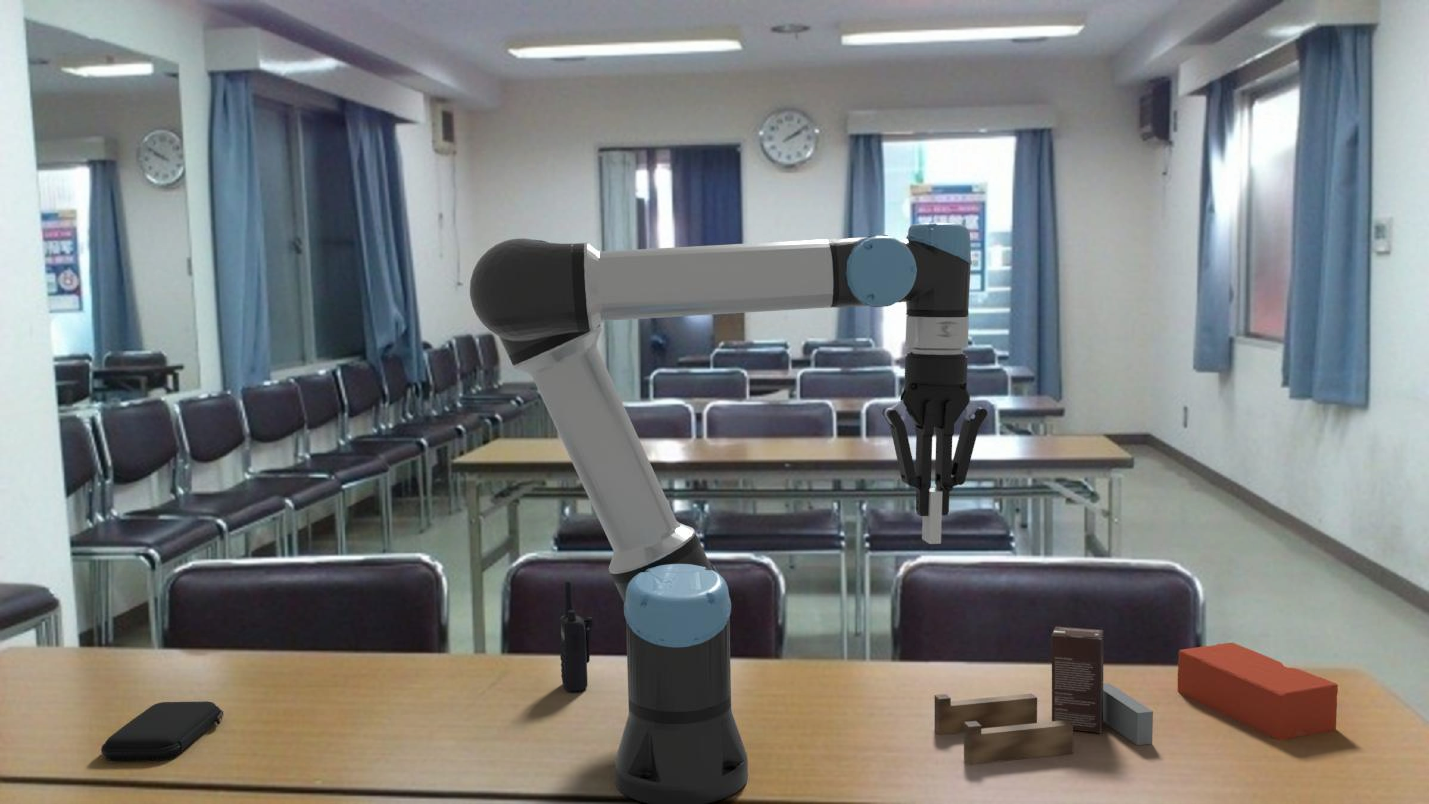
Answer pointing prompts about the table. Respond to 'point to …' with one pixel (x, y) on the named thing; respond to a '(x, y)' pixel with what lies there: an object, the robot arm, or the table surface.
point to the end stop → (1127, 715)
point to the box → (1078, 677)
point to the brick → (1258, 690)
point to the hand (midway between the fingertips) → (931, 541)
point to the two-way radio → (574, 645)
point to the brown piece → (1002, 728)
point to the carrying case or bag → (161, 731)
